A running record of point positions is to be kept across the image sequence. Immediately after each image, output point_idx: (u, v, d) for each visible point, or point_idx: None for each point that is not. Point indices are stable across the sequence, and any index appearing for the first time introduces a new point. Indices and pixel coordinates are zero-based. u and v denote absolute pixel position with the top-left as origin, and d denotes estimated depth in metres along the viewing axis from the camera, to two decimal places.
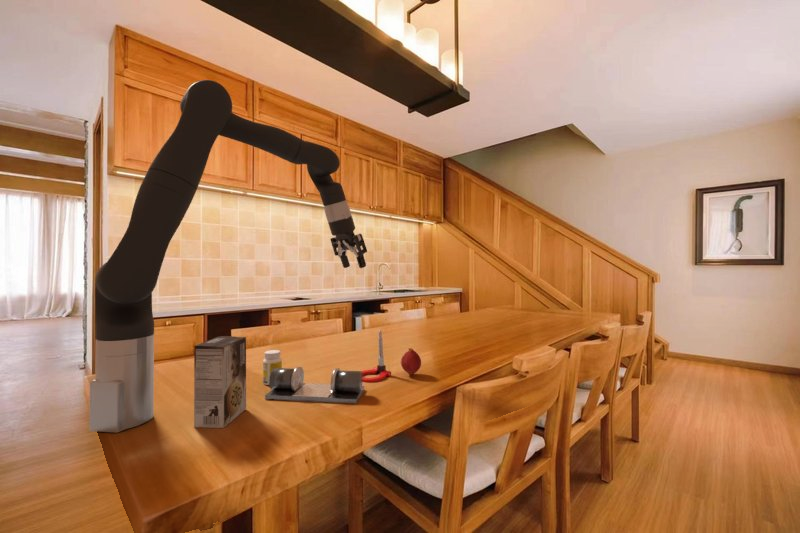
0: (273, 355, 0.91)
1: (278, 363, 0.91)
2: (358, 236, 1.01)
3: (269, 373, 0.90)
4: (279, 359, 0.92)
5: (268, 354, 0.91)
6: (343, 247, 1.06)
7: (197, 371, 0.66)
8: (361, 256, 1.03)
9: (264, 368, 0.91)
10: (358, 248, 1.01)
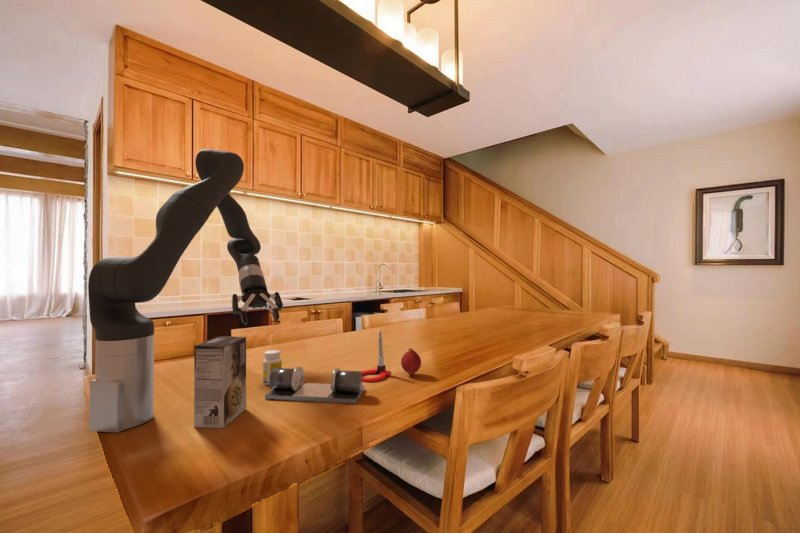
0: (273, 355, 0.91)
1: (278, 363, 0.91)
2: None
3: (269, 373, 0.90)
4: (279, 359, 0.92)
5: (268, 354, 0.91)
6: (254, 301, 1.04)
7: (197, 371, 0.66)
8: None
9: (264, 368, 0.91)
10: (280, 301, 1.08)
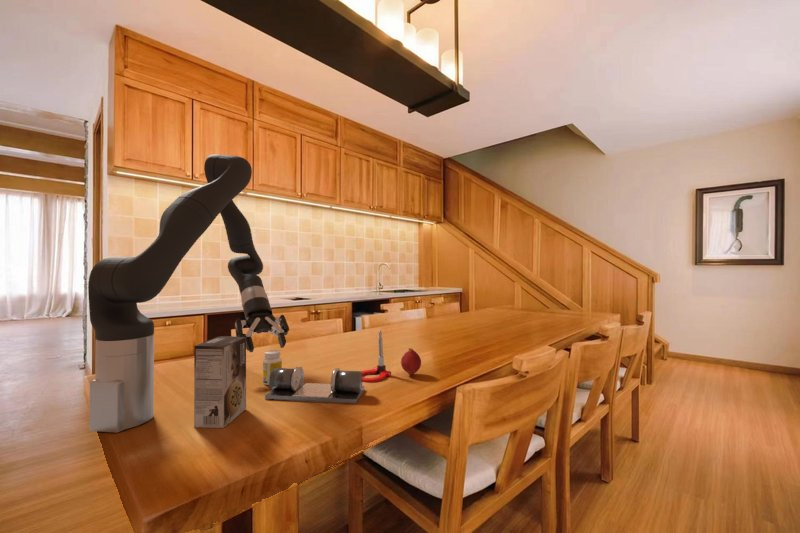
0: (273, 355, 0.91)
1: (278, 363, 0.91)
2: None
3: (269, 373, 0.90)
4: (279, 359, 0.92)
5: (268, 354, 0.91)
6: (259, 326, 0.98)
7: (197, 371, 0.66)
8: (283, 335, 1.01)
9: (264, 368, 0.91)
10: (286, 325, 1.02)
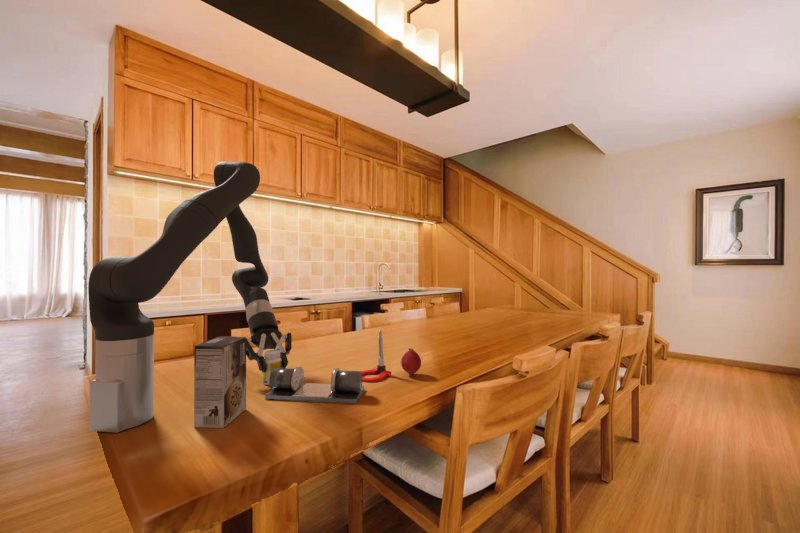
0: (273, 355, 0.91)
1: (278, 363, 0.91)
2: None
3: (269, 373, 0.90)
4: (279, 359, 0.92)
5: (268, 354, 0.91)
6: (267, 342, 0.95)
7: (197, 371, 0.66)
8: None
9: None
10: (289, 343, 0.97)
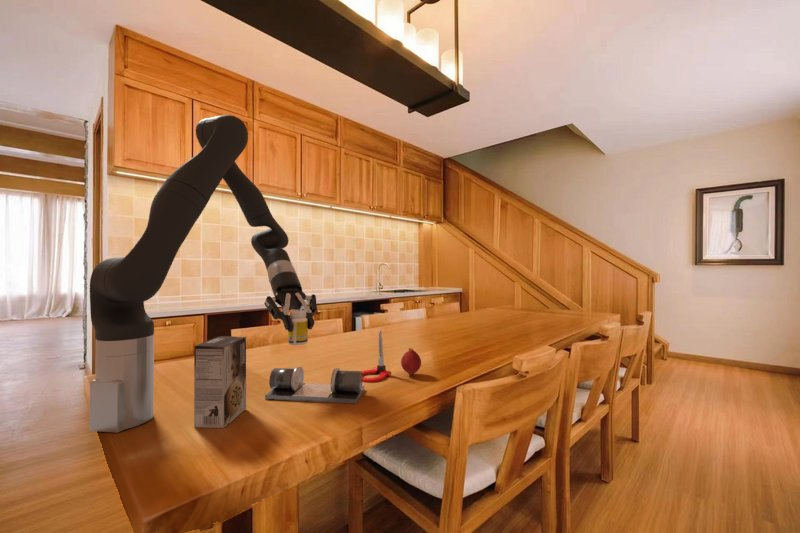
0: (300, 314, 0.86)
1: (304, 322, 0.87)
2: None
3: (295, 332, 0.86)
4: (305, 319, 0.88)
5: (294, 313, 0.86)
6: (291, 301, 0.90)
7: (197, 371, 0.66)
8: None
9: None
10: (314, 305, 0.93)
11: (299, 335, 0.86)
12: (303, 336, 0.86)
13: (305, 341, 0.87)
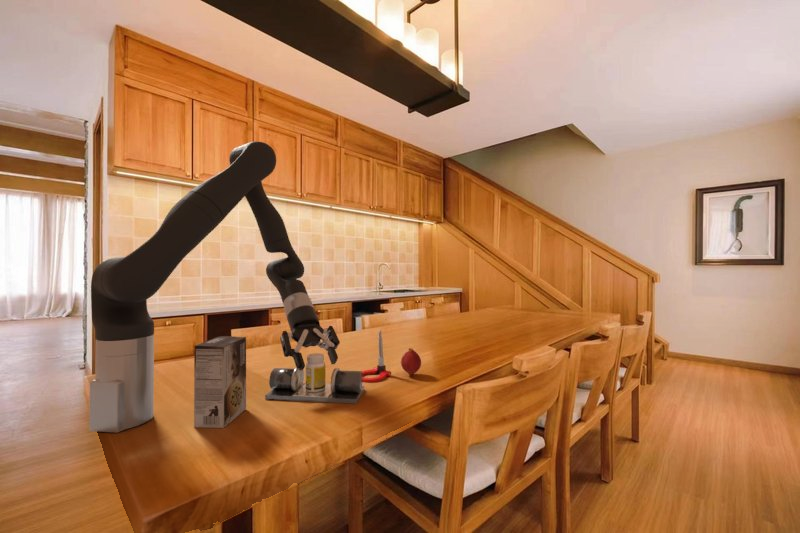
0: (317, 359, 0.82)
1: (322, 368, 0.83)
2: None
3: (313, 379, 0.82)
4: (323, 363, 0.84)
5: (312, 358, 0.82)
6: (307, 339, 0.86)
7: (197, 371, 0.66)
8: None
9: (307, 373, 0.82)
10: (335, 337, 0.90)
11: (317, 381, 0.82)
12: (321, 382, 0.83)
13: (323, 387, 0.83)
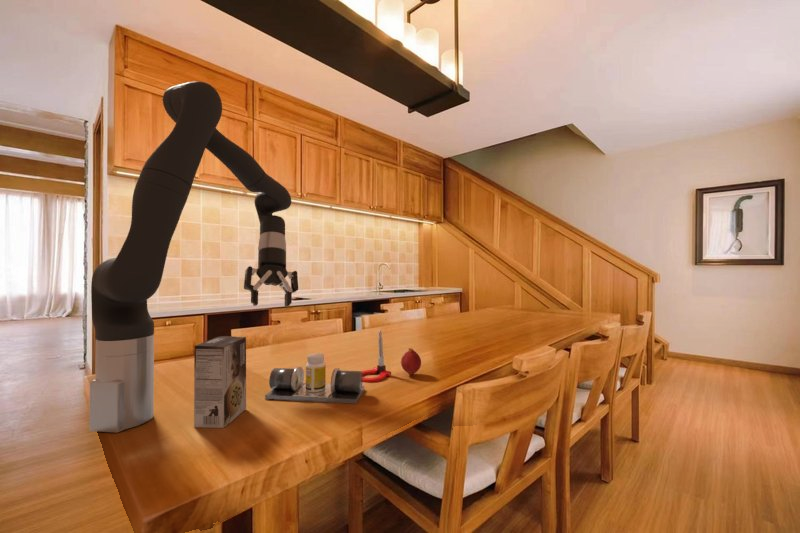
0: (318, 359, 0.82)
1: (322, 368, 0.83)
2: None
3: (313, 379, 0.82)
4: (323, 363, 0.84)
5: (312, 358, 0.82)
6: (269, 279, 0.94)
7: (197, 371, 0.66)
8: None
9: (307, 373, 0.82)
10: (296, 283, 0.99)
11: (317, 381, 0.82)
12: (322, 382, 0.83)
13: (323, 387, 0.83)
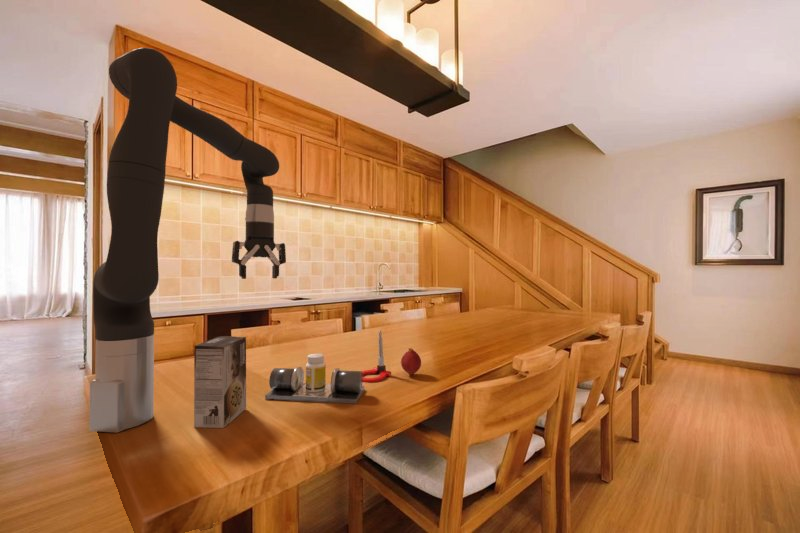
0: (318, 359, 0.82)
1: (323, 368, 0.83)
2: None
3: (313, 379, 0.82)
4: (323, 363, 0.84)
5: (312, 358, 0.82)
6: (256, 253, 0.96)
7: (197, 371, 0.66)
8: None
9: (308, 373, 0.82)
10: (283, 256, 1.00)
11: (317, 381, 0.82)
12: (322, 382, 0.83)
13: (323, 387, 0.83)
